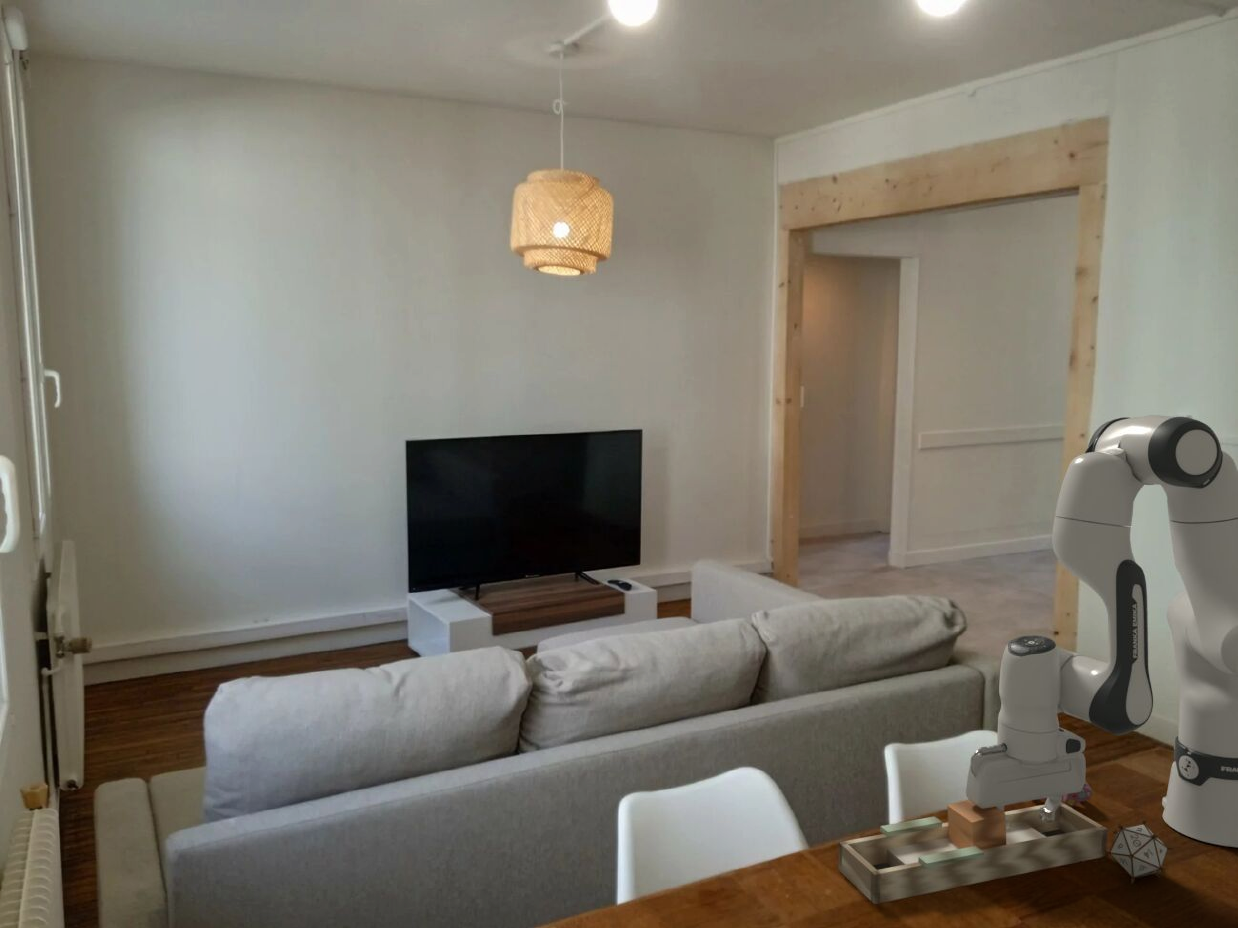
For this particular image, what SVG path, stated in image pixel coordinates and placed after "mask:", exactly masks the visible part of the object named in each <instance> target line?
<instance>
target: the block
mask: <svg viewBox="0 0 1238 928" xmlns="http://www.w3.org/2000/svg"><path fill="white" fill-rule="evenodd" d="M946 807H947V822H948V827H949V841H950V842H951V843H953V844H954V845H955V846H957V847H958V848H959V849H962V848H967V847H972V846H976V847H978V848H979V849H980V850H983V849H988V848H993V847H998V846H1003V845H1007V844H1006V823H1005V813H1004V812H1005V811H1001V810H999V809H998V808H996V807H991V808H985V809H982V808H980V807H978V806H976V805H975V804H974V803H972V802H971V801H970V800H969V799H968V798H967V799H965V800H962V801H958V802H954V803H951V804H947V806H946Z"/></svg>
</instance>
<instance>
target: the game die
mask: <svg viewBox="0 0 1238 928" xmlns="http://www.w3.org/2000/svg"><path fill="white" fill-rule="evenodd" d="M1141 821H1142V823H1140V824H1136V825H1131V826H1126V827H1123V826H1122V824H1119V823H1118V824H1117V827H1118V829H1119V830H1117V829H1112V832H1113V834H1114V835H1115V837H1114V839H1113V841H1112V845H1111V847H1110V849H1109V850H1107V852H1106V851H1105V852H1104V853H1103V854H1105V855H1106V856H1109V855H1110V856H1111V857H1112V858H1113V859H1114V860H1115V861H1116V862H1117V863H1118V865H1120V867H1121V868H1122V869H1123V870H1124V871H1125V872H1126V873H1127V874H1128V875H1129V876H1130V877H1131V879H1130V882H1131V884H1134V883H1135V878H1141V877H1145V876H1149V875H1153V874H1154V876H1155V878H1156V877H1157V878H1160V874H1159V871H1161V873H1165V874H1166V869H1165V868H1164V867H1163V865H1164V862H1165V859H1166V857H1167V853H1168V851H1173V849H1175V846H1174V847H1173V846H1167V845H1166V844H1165V843H1164V842H1163V841H1162V840H1161V839H1160V838H1159V837H1158V836H1157V834H1156V833H1154V832H1153V831H1152V830H1151V829H1150V828H1149V827H1148V826H1147V825H1146V824H1147V819H1146V818H1143V819H1142V820H1141Z"/></svg>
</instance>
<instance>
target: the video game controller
mask: <svg viewBox="0 0 1238 928" xmlns="http://www.w3.org/2000/svg"><path fill="white" fill-rule="evenodd" d="M1092 796H1093V791H1092V787H1090V785H1089V783H1088V782H1087V781H1086V780H1085V784H1084V786H1083V788H1082V789H1081V791H1080V792H1076V793H1070V794H1064V795H1062V800H1063V803H1064V804H1065V805H1067V806H1069V807H1074V806H1077V805H1078V803H1080V802H1086V801H1087V800H1089V799H1091V797H1092ZM1047 798H1048V797H1047ZM1047 798H1042V799H1041V800H1042V801H1044V803H1045V802H1046V800H1047Z"/></svg>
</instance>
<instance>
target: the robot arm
mask: <svg viewBox="0 0 1238 928" xmlns="http://www.w3.org/2000/svg"><path fill="white" fill-rule="evenodd" d="M1154 485H1159V486H1161V487H1162V489H1163V491H1164V492H1165V494H1166V502H1167V503H1166V504H1167V514H1168V515H1167V516H1168V523H1169V527H1170V528H1169V529H1170V537H1171V544H1172V551H1173V558H1174V564H1175V567H1176V570H1177V572H1178V573H1179V575H1180V577H1181V580H1182V582H1183V584H1184V587H1185V590H1183V591H1181V592H1179V593H1178V594H1176V595H1175V596H1174V597H1173V598H1172V600H1170V602H1169V605H1168V607H1167V611H1166V619H1167V622H1168V625H1169V627H1170V631H1171V635H1172V642H1173V649H1174V658H1175V664H1176V670H1177V671H1176V672H1177V678H1178V685H1179V687H1178V688H1179V713H1178V714H1179V715H1178V733H1177V736H1176V737H1175V740H1174V744H1173V750H1174V752H1173V759H1174V761H1173V763H1172V765H1171V770H1170V773H1169V774H1170V775H1169V779H1168V786H1167V792H1166V796H1164V797H1162V799H1161V801H1162V802H1161V804H1162V807H1163V813H1162V819H1163V820H1164V822H1165V823H1166V824H1167V825H1168V826H1169V827H1171V828H1172V829H1174V830H1175V831H1176V832H1178V833H1180V834H1182V835H1185V836H1187V837H1190V838H1192V839H1195V840H1197V841H1201V842H1204V843H1209V844H1212V845H1218V846H1224V847H1232V848H1238V468H1237V465H1236V463H1235V460H1234V459H1233V457H1232V456H1231V455H1230V454H1229V453H1227V452H1225V451H1223V450H1222V446H1221V443H1220V440H1219V438H1218V436H1217V434H1216V433H1215V431H1214V430H1213V429H1212V428H1211V427H1210V426H1209V425H1208V424H1206V423H1204V422H1202V421H1200V420H1198V419H1194V418H1191V417H1188V416H1187V417H1186V416H1175V417H1174V416H1170V415H1169V416H1168V415H1159V414H1158V415H1155V414H1153V415H1152V414H1151V415H1150V414H1149V415H1144V416H1137V417H1128V416H1127V417H1125V416H1124V417H1119V418H1114V419H1111V420H1109V421H1107V422H1104V423H1103V424H1102V425H1100V426H1099V427H1098V428H1097V429H1096V430H1095V431H1094V433H1093V434H1092V436H1091V438H1090V440H1089V442H1088V447H1086V449H1085V452H1084V453H1082V454H1079V455H1078V456H1076V457H1074V458H1073V459H1072V460H1071V461H1070V463H1069V465H1068V467H1067V470H1066V472H1065V474H1064V478H1063V480H1062V484H1061V487H1060V490H1059V494H1058V499H1057V502H1056V506H1055V507H1056V508H1055V512H1054V515H1055V516H1054V519H1053V524H1052V531H1051V533H1052V534H1051V544H1052V550H1053V553H1054V555H1055V556H1056V558H1057V560H1058V561H1059V563H1060V564H1061V565H1062V566H1063V567H1064V568H1065V570H1067V572H1069V573H1070V574H1072V576H1074V577H1076V578H1077V579H1078V580H1080V581H1082V582H1083V583H1084V584H1086V585H1088V587H1090V589H1092V590H1093V591H1094V592H1095V593H1096V594H1097V595H1098V596H1099V597H1100V599H1101V600H1102V601H1103V604H1104V606H1105V608H1106V613H1107V647H1108V648H1107V649H1108V653H1107V654H1108V657H1107V660H1108V661H1107V662H1105V661H1101V660H1098V659H1095V658H1093V657H1089V656H1086V655H1084V654H1080V653H1078V652H1074V651H1072V650H1071V651H1070V650H1067V649H1064V648H1063V647H1060V646H1058V644H1057V643H1056V642H1055V641H1054V640H1053V639H1052V638H1049V637H1046V636H1042V635H1035V634H1033V635H1023V636H1018V637H1016V638H1013V639H1011V640H1010V641H1008V643H1007V644H1006V645H1005V648H1004V652H1003V654H1002V658H1001V664H1000V671H999V685H998V687H999V688H998V691H999V692H998V693H999V697H1000V703H1001V706H1000V710H999V713H998V715H997V735H996V736H997V740H996V741H997V742H996V744H993V745H991V746H990V745H989V746H981V747H979V748H978V750H976V751H975V752H974V753H973V754H972V755H971V757H970V761H969V763H970V764H969V767H968V768H969V769H968V774H967V780H966V789H965V796H966V797H967V800H968V799H969V800H970V801H971V802H972V803H974V804H975V805H976V806H978V807H980V808H982V809H985V808H991V807H996V808H998V809H999V810H1001V811H1003V812H1005V811H1004V810H1005V806H1008V805H1013V804H1019V803H1024V802H1025V803H1026V802H1030V801H1034V800H1043V799H1042V798H1047V797H1048V798H1047V800H1046V802H1045V801H1044V804H1043V805H1044V807H1041V808H1040V814H1039V817H1040V819H1041V820H1044V822H1050V821H1054V820H1055V811H1056V810H1057V808H1058V806H1059V804H1060V803H1061V802H1062V800H1063V796H1064V795H1065V794H1070V793H1076V792H1080V791H1081V789H1082V788H1083V786H1084V784H1085V781H1086V770H1087V769H1086V768H1087V767H1086V757H1085V754H1084V753H1083V752H1084V751H1085V749H1086V740H1085V739H1084V738H1082V737H1081V736H1079V735H1078V734H1075V733H1074V732H1071V731H1070V730H1068V729H1064V728H1062V727H1060V721H1059V718H1058V714H1061V713H1064V714H1066V715H1069V716H1072V717H1074V718H1077V719H1080V720H1083V721H1085V722H1087V723H1090V724H1092V725H1093V726H1096V727H1097V728H1100V729H1102V730H1103V731H1106V732H1108V733H1110V734H1112V735H1114V736H1122V735H1126V734H1128V733H1131V732H1133V731H1135V730H1138V729H1139V728H1141V727H1142V726H1143V725H1145V724H1146V723H1147V722H1148V720H1149V719H1150V717H1151V715H1152V712H1153V707H1154V695H1153V689H1152V688H1153V687H1152V682H1151V678H1150V677H1151V676H1150V671H1149V622H1148V618H1149V617H1148V614H1149V613H1148V590H1147V581H1146V576H1145V573H1144V570H1143V569H1142V567H1141V566H1140V565H1139V564H1138V563H1137V562H1136V559H1135V557H1134V553H1133V550H1132V545H1131V530H1132V528H1131V527H1132V524H1133V515H1134V504H1135V499H1136V497H1137V495H1138V493H1139V492H1140V491H1141V489H1143V487H1144V486H1154ZM1005 823H1006V830H1007V829H1009V826H1008V825H1009V819H1007V818H1005Z"/></svg>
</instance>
